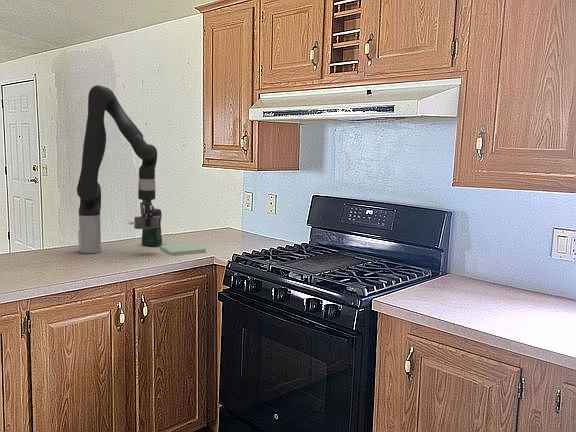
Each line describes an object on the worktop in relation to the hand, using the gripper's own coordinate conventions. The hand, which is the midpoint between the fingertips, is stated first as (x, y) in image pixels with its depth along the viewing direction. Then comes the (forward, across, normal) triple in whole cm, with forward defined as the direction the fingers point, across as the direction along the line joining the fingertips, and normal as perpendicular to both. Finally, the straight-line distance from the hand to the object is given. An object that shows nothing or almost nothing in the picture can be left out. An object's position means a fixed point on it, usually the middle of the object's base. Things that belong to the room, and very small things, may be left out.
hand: (146, 226), depth 239 cm
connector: (+1, 0, -1) cm, 1 cm away
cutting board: (+13, 0, +17) cm, 22 cm away
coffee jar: (+13, -19, +8) cm, 25 cm away
